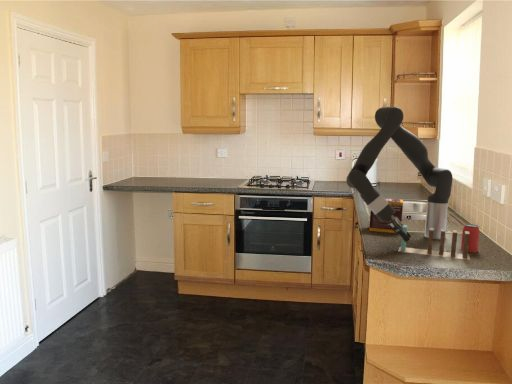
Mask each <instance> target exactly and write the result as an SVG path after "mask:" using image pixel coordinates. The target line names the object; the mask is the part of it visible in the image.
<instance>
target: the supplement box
mask: <svg viewBox="0 0 512 384" xmlns="http://www.w3.org/2000/svg"><path fill="white" fill-rule="evenodd" d="M385 199H386V200H387V202H388V203H389V204H390V205H391V206H392V207H393V208H394V209H395V213H394V214H393V216H394V217H397V218H398V219H399V220H400V221H401V223H402V222H403V220H402V219H403V211H404V209H403V208H404V200H403V199H398V198H387V197H385ZM369 215H370V216H369V229H368V231H369V232H378V233H379V232H380V233H390V234H396V233H395V232H394V231H393V230H392V229H391V228H390V227H389V225H388V221H387V220H385V221H384V222H381V221H380V220H379V219H378V217H377V216H376V215H375V214H374V213H373V212H372V211H371V210H370V214H369ZM402 224H403V223H402ZM398 231H399V230H398Z"/></svg>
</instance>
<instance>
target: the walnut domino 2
mask: <svg viewBox="0 0 512 384" xmlns="http://www.w3.org/2000/svg"><path fill="white" fill-rule="evenodd" d="M445 240H446V238H445V229H441V237H440V239H439V250H438V251H439V255H442V256H443V252H445ZM442 256H441V257H442Z"/></svg>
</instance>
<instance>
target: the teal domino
mask: <svg viewBox="0 0 512 384" xmlns="http://www.w3.org/2000/svg"><path fill="white" fill-rule="evenodd" d="M408 227H409V225H408V224H403V229H402V230H404V232H405V233H406V234H407V232H408ZM406 246H407V242H405V241H404V239H403V238H402V237H401V242H400V247H401V251H405V249H406V248H407V247H406Z"/></svg>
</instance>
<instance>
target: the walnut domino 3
mask: <svg viewBox="0 0 512 384" xmlns="http://www.w3.org/2000/svg"><path fill="white" fill-rule="evenodd" d="M451 237H452V238H451V246H450V253H451V257H455V253H457V252H456V251H457V242H458V230H456V229H453V230H452V236H451Z"/></svg>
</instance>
